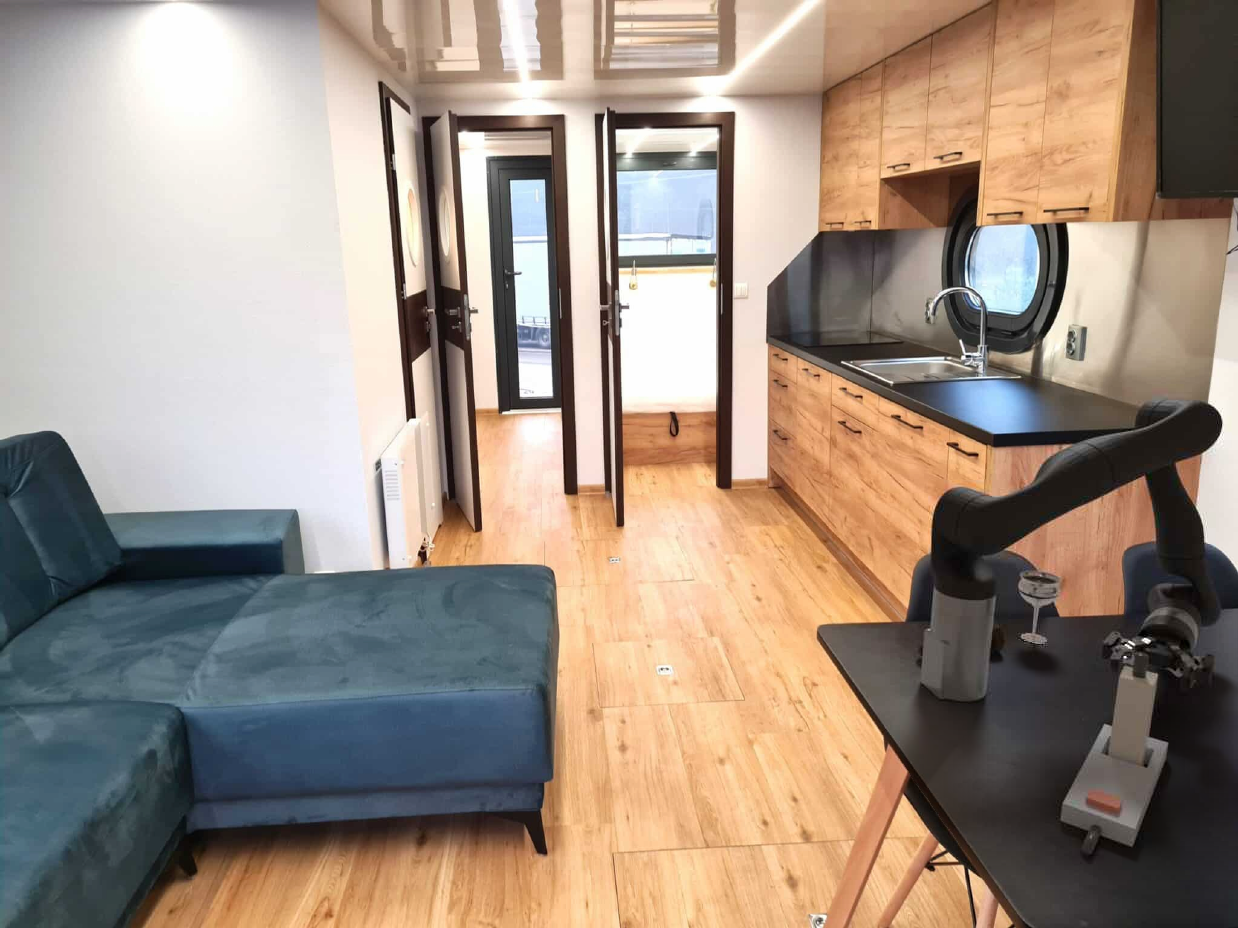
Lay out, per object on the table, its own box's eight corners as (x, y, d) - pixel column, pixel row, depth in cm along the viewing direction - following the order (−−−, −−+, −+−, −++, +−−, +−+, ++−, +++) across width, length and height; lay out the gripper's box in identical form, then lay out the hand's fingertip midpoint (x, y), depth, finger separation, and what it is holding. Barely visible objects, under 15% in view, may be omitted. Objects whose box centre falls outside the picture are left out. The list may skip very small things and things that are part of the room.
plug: (1139, 779, 120) (1156, 664, 116) (1106, 768, 122) (1122, 655, 118) (1144, 765, 123) (1161, 653, 119) (1111, 756, 125) (1127, 645, 121)
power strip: (1123, 869, 103) (1127, 844, 102) (1049, 840, 108) (1052, 817, 107) (1165, 758, 125) (1169, 737, 124) (1102, 739, 129) (1105, 718, 129)
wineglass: (1061, 645, 160) (1069, 582, 157) (1028, 648, 158) (1035, 585, 155) (1037, 629, 166) (1044, 569, 163) (1005, 632, 165) (1011, 572, 162)
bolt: (918, 668, 155) (990, 653, 160) (935, 666, 151) (1008, 651, 155) (910, 635, 157) (981, 621, 161) (925, 632, 152) (999, 618, 156)
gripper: (1120, 603, 144) (1097, 637, 132) (1224, 626, 135) (1211, 665, 123) (1114, 646, 146) (1091, 683, 134) (1217, 671, 137) (1202, 713, 125)
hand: (1149, 674), depth 129 cm, fingers open, 8 cm apart
